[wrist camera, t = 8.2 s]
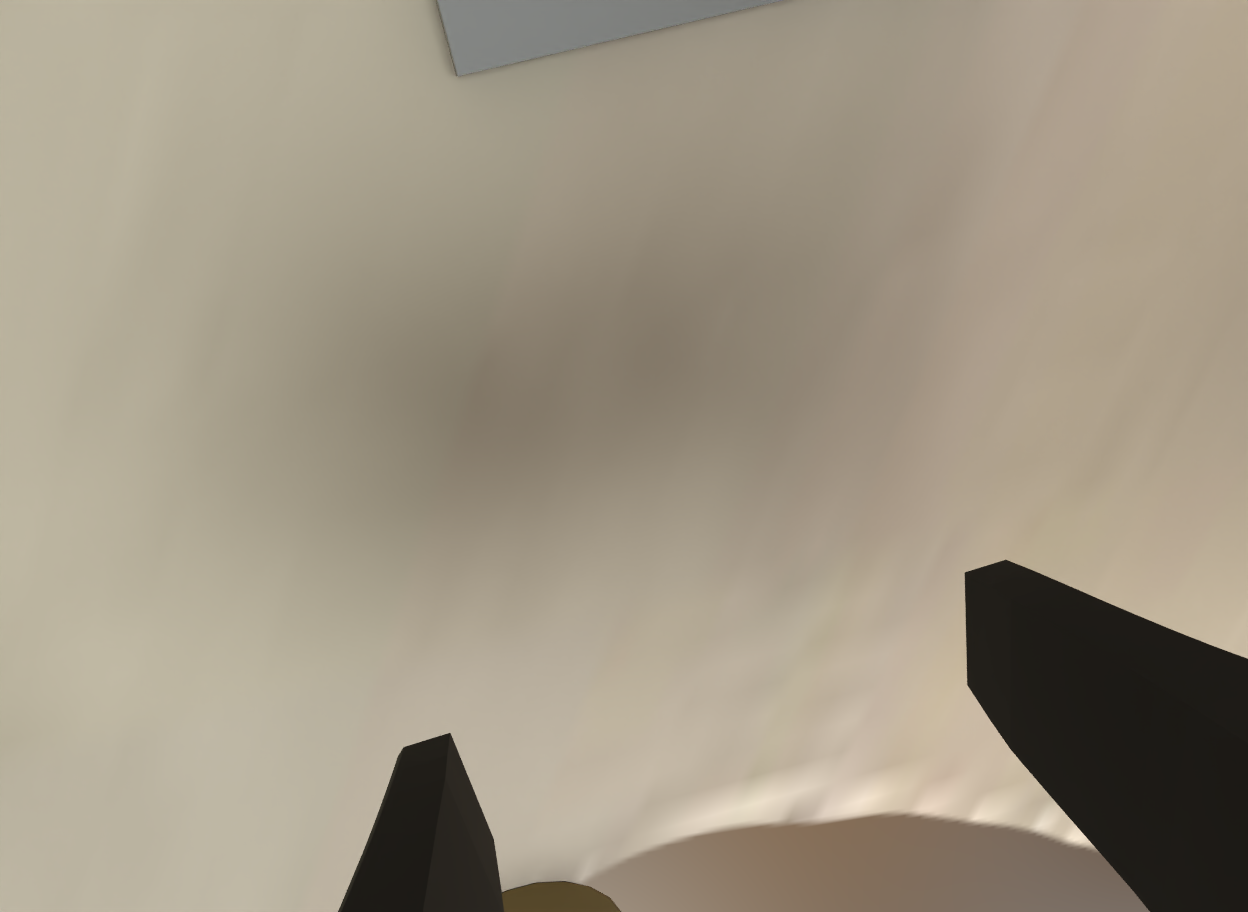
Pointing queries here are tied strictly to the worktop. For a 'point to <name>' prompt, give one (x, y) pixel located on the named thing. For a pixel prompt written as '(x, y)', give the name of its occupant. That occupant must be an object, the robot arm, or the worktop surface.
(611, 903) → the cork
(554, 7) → the fitting board
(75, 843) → the worktop surface
